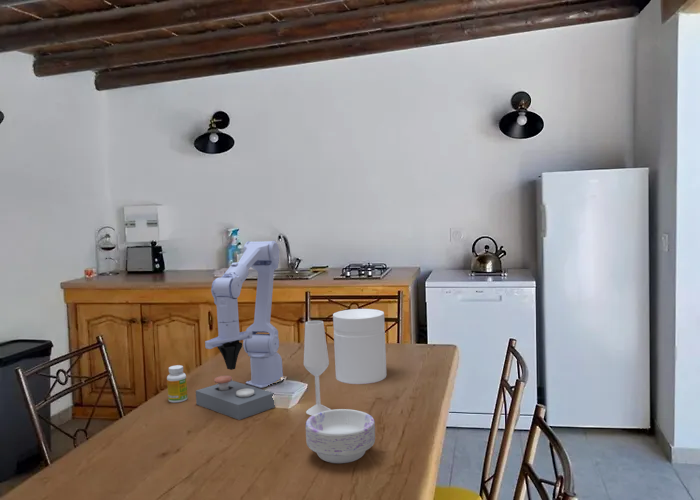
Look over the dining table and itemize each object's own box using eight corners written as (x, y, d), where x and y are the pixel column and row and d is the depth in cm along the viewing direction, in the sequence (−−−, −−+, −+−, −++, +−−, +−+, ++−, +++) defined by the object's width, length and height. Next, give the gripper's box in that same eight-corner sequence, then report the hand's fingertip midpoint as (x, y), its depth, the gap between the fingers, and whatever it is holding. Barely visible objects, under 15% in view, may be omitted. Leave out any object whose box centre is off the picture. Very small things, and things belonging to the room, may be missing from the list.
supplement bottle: (182, 403, 175) (180, 369, 174) (165, 402, 176) (162, 369, 175) (190, 397, 180) (188, 364, 179) (174, 396, 181) (171, 364, 181)
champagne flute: (313, 405, 168) (309, 319, 166) (335, 408, 165) (331, 320, 163) (301, 413, 162) (296, 324, 160) (323, 416, 159) (319, 325, 157)
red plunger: (226, 388, 178) (225, 374, 177) (236, 391, 174) (235, 377, 174) (211, 392, 174) (211, 378, 174) (221, 395, 171) (220, 381, 170)
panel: (231, 393, 182) (230, 380, 182) (275, 407, 168) (274, 392, 168) (196, 404, 173) (195, 390, 173) (239, 420, 160) (238, 405, 159)
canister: (327, 381, 189) (324, 317, 188) (347, 367, 204) (344, 308, 202) (376, 385, 183) (373, 319, 182) (393, 370, 198) (390, 309, 196)
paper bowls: (385, 463, 131) (384, 426, 130) (316, 475, 126) (314, 437, 126) (363, 437, 145) (362, 404, 145) (300, 447, 141) (298, 413, 140)
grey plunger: (247, 401, 171) (246, 387, 170) (258, 404, 168) (257, 390, 167) (233, 406, 167) (232, 391, 167) (244, 409, 164) (243, 395, 164)
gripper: (240, 314, 178) (243, 360, 179) (197, 323, 167) (200, 372, 168) (255, 317, 173) (258, 364, 174) (212, 326, 162) (216, 377, 163)
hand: (231, 368), depth 171 cm, fingers closed
